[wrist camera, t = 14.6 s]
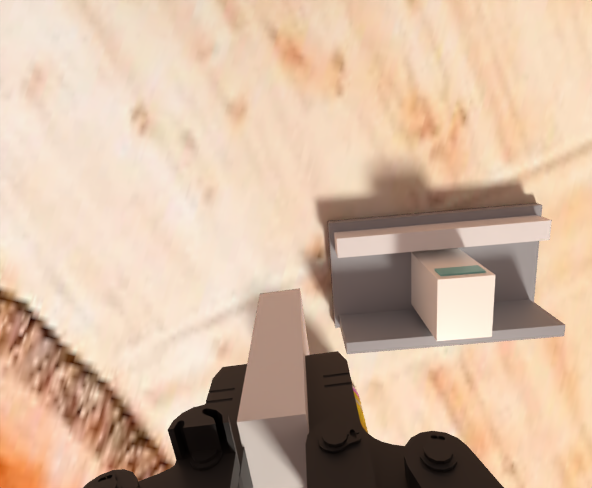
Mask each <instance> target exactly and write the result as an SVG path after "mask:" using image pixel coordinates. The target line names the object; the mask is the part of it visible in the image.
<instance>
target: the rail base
mask: <svg viewBox="0 0 592 488" xmlns="http://www.w3.org/2000/svg"><path fill="white" fill-rule="evenodd" d="M541 213H542V205H541V204H537V203H533V204H521V205H510V206H498V207H487V208H475V209H464V210H452V211H441V212H429V213H418V214H406V215H395V216H383V217H371V218H360V219H348V220H337V221H328V232H329V247H330V262H331V278H332V293H333V308H334V323H335V328H338V327H340V328H341V332H342V336H343V340H344V344H345V348H346V352H347V354H353V353H366V352H378V351H390V350H402V349H414V348H426V347H438V346H451V345H463V344H475V343H487V342H499V341H511V340H523V339H536V338H548V337H560V336H564V332H565V324H563V323H562V322H560V321H559V320H558V319H556V318H555V317H554V316H552V315H551V314H549V313H548V312H547V311H545V310H544V309H542V308H541V307H540V306H538V305H537V304H535V303H534V294H535V283H536V271H537V259H538V248H539V241H543V240H550V232H551V221H552V220H549V219H547V218H544V217H541ZM456 248H459V249H460V250H462V251H463V252H464V253H466V254H467V255H468V256H470V257H471V258H473V259H474V260H475V261H477V262H478V263H480V264H481V265H482V266H484V267H485V268H486V269H488V270H489V271H491V272H492V273H493V274H495V291H494V308H493V325H492V337H483V338H471V339H458V340H446V341H436V340H435V338H434V337H433V335H432V334H431V332H430V331H429V329H428V328H427V326H426V325H425V323H424V322H423V320H422V319H421V317H420V316H419V315H418V313H417V312H416V310H415V309H414V307H413V306H412V304H411V252H420V251H432V250H444V249H456Z"/></svg>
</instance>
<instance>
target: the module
mask: <svg viewBox="0 0 592 488" xmlns="http://www.w3.org/2000/svg"><path fill="white" fill-rule="evenodd" d="M494 291H495V274H493V273H492V272H491V271H489V270H488V269H486V268H485V267H484V266H482V265H481V264H480V263H478V262H477V261H475V260H474V259H473V258H471V257H470V256H468V255H467V254H466V253H464V252H463V251H462V250H460V249H459V248H456V249H444V250H432V251H420V252H411V304H412V306H413V307H414V309H415V310H416V312H417V313H418V315H419V316H420V317H421V319H422V320H423V322H424V323H425V325H426V326H427V328H428V329H429V331H430V332H431V334H432V335H433V337H434V338H435V340H436V341H446V340H458V339H471V338H483V337H492V325H493V308H494Z"/></svg>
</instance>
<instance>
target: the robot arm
mask: <svg viewBox="0 0 592 488" xmlns="http://www.w3.org/2000/svg"><path fill="white" fill-rule="evenodd" d="M168 432H169V436H170V439H171V443H172V446H173V449H174V453H175V456H176V463H175V465H174V466H173V467H172V468H170V469H168V470H166V471H164V472H162V473H159V474H157V475H154V476H152V477H149V478H147V479H144V480H141V481H139V482H138V479H137V478H136V476H135V475H134V473H133V472H130V471H127V470H125V469H122V470H112V471H110V472H107V473H104V474H102V475H100V476H98V477H96V478H95V479H93V480H92V481H90V482H89V483H87V484H86V485H85V486H84V487H83V488H504V487H503V486H502V485H501V484H500V483H499V482H498V481H497V479H496V478H495V477H494V476H493V475H492V474H491V473H490V471H489V470H488V469H487V468H486V467H485V466H484V464H483V463H482V462H481V461H480V460H479V459H478V458H477V456H476V455H475V454H474V453H473V452H472V451H471V450H470V448H469V447H468V446H467V445H465V444H464V443H463V442H462V441H461V440H459V439H458V438H457V437H454V436H452V435H450V434H447V433H444V432H437V431H429V432H422V433H419V434H417V435H415V436H414V437H412V438H411V439H410V440H409V441H408V443H407V444H406V445H405V446H399V445H392V444H388V443H384V442H381V441H379V440H377V439H375V438H373V437H372V436H371V435H369V434H368V433H367V432H366V431H365V429H364V428H363V427H362V424H361V422H360V418H359V413H358V409H357V404H356V400H355V395H354V391H353V386H352V382H351V377H350V373H349V368H348V364H347V360H346V359H345V358H344V357H343V356H342V355H341V354H340V353H339V352H330V353H322V354H314V355H310V353H309V346H308V339H307V332H306V326H305V319H304V312H303V305H302V299H301V292H300V289H293V290H285V291H277V292H270V293H262V294H260V297H259V302H258V308H257V313H256V319H255V324H254V330H253V335H252V341H251V346H250V352H249V357H248V363H247V364H244V365H236V366H228V367H223V368H222V369H221V370H220V371H219V372H218V373H217V374H216V376H215V377H214V378H213V380H212V383H211V387H210V390H209V393H208V397H207V400H206V404H205V405H202V406H198V407H194V408H191V409H190V410H188V411H186V412H184V413H182V414H181V415H180V416H178V417H177V418H176V419H175V420H174V421H173V422H172V424H171V425H170V427H169V429H168Z"/></svg>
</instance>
